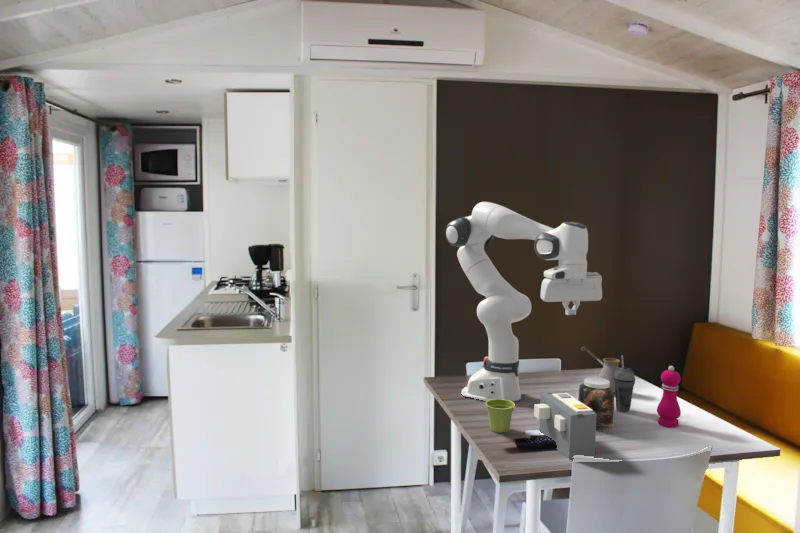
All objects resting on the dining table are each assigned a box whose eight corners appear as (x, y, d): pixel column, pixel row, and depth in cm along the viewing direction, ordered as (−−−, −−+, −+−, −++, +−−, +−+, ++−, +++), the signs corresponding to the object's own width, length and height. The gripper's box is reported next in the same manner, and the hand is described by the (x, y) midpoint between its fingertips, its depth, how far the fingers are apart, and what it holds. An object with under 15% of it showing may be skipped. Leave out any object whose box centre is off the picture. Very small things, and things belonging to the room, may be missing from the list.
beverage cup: (635, 414, 209) (638, 358, 207) (613, 413, 211) (616, 357, 209) (631, 407, 216) (634, 353, 214) (610, 406, 218) (613, 352, 216)
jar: (569, 420, 203) (571, 377, 201) (596, 416, 207) (598, 374, 206) (593, 433, 192) (595, 387, 190) (621, 428, 197) (623, 383, 195)
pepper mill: (669, 429, 196) (673, 369, 194) (651, 422, 202) (654, 364, 200) (684, 426, 199) (688, 367, 197) (666, 419, 205) (669, 362, 203)
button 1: (538, 419, 183) (539, 408, 183) (533, 415, 187) (534, 404, 186) (554, 418, 184) (554, 407, 184) (548, 414, 188) (549, 403, 187)
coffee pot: (632, 394, 232) (634, 356, 230) (610, 398, 227) (612, 359, 225) (590, 379, 251) (592, 344, 249) (570, 383, 245) (571, 347, 244)
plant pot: (507, 437, 188) (508, 410, 187) (480, 431, 193) (480, 404, 192) (518, 428, 196) (519, 402, 195) (491, 422, 201) (492, 397, 200)
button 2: (559, 431, 174) (560, 419, 174) (554, 426, 178) (554, 415, 177) (575, 430, 175) (576, 418, 175) (569, 425, 179) (570, 414, 178)
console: (569, 459, 172) (570, 413, 171) (539, 433, 191) (540, 391, 190) (594, 457, 174) (596, 411, 172) (562, 431, 193) (564, 390, 192)
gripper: (596, 271, 199) (594, 312, 200) (539, 271, 194) (537, 313, 196) (607, 273, 192) (604, 315, 194) (547, 274, 188) (546, 317, 190)
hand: (570, 314), depth 195 cm, fingers closed
